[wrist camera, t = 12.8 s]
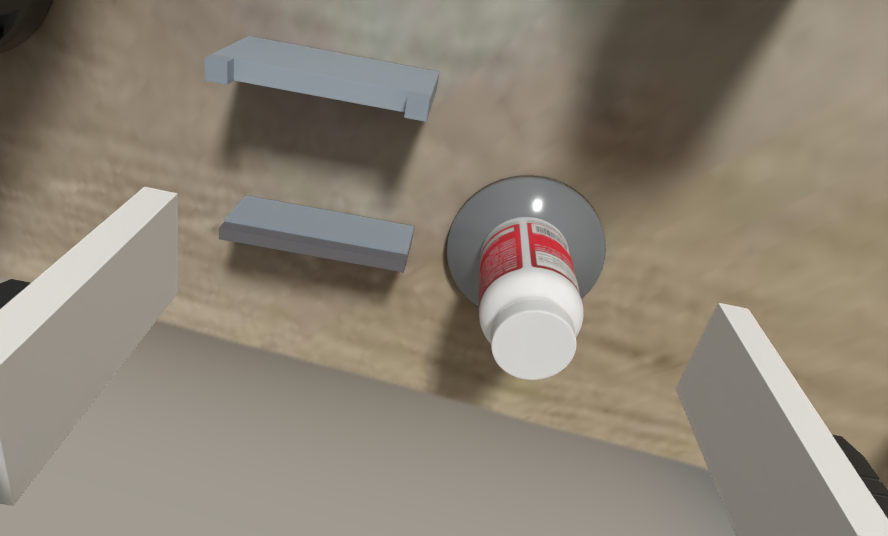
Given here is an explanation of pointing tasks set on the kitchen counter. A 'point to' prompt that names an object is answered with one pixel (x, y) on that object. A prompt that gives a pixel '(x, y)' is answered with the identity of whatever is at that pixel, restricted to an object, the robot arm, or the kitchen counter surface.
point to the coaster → (525, 201)
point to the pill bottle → (529, 298)
